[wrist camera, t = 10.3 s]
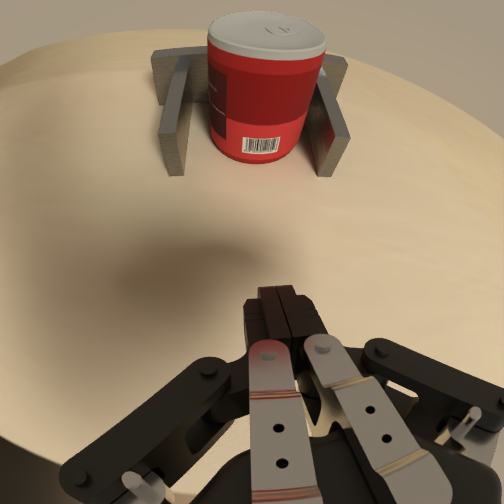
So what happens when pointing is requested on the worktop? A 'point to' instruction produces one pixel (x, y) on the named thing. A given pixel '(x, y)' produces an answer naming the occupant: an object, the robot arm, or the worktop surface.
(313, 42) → the canned food
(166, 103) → the keeper bracket
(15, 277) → the worktop surface
